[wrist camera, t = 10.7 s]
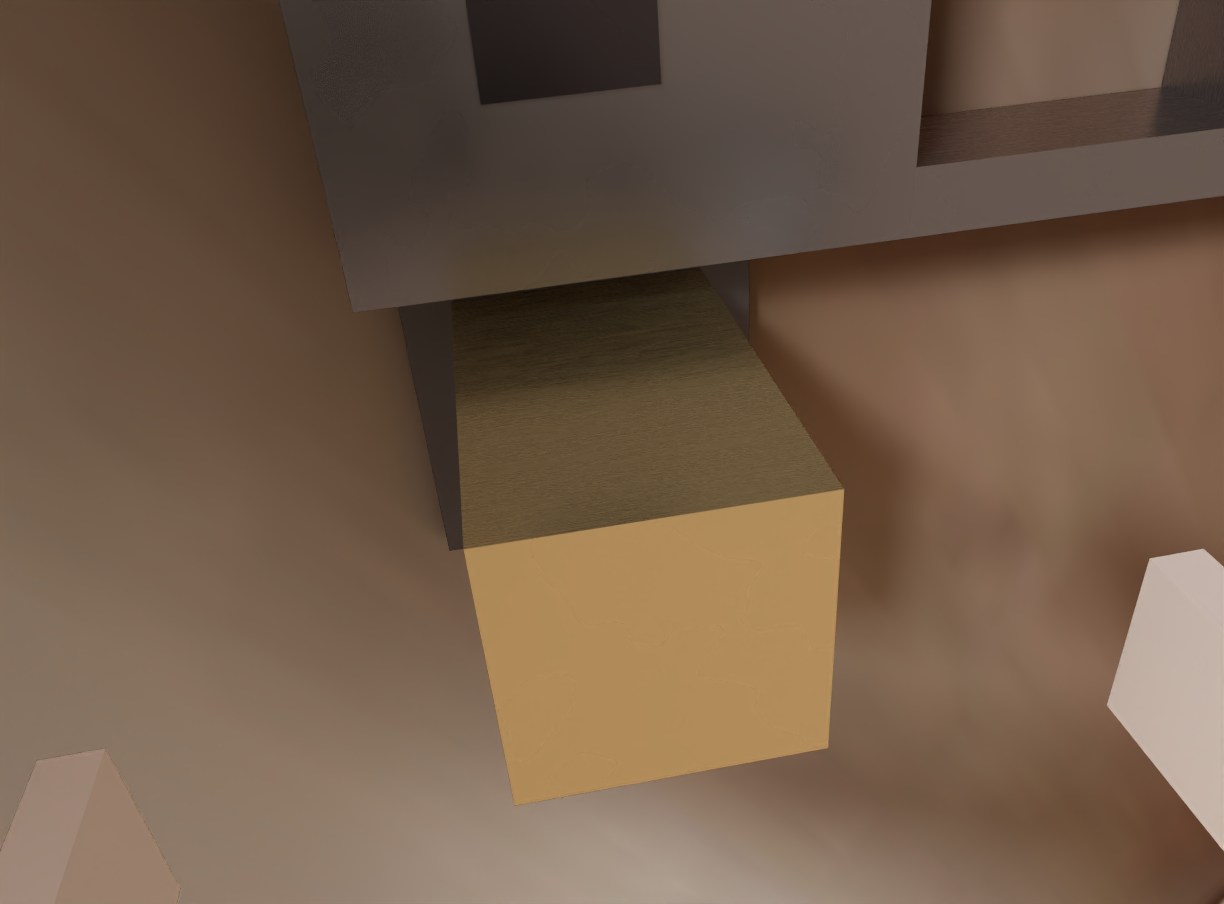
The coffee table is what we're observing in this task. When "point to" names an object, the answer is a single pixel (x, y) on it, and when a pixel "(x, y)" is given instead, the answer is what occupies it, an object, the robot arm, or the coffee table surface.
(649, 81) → the rack rail
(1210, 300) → the coffee table surface
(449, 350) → the rubber mat
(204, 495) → the coffee table surface
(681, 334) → the yellow rectangular block
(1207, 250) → the coffee table surface
